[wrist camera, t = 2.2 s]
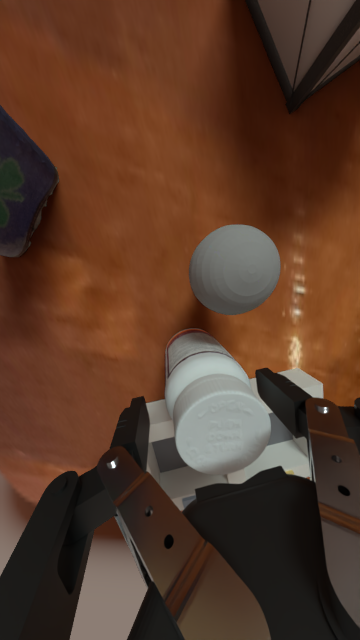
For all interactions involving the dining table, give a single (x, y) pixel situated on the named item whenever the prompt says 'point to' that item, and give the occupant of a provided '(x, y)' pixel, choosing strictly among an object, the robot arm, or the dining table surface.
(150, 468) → the socket block
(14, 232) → the flask
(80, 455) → the dining table surface
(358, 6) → the lantern
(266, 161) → the dining table surface
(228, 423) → the pill bottle
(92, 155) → the dining table surface
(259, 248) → the light bulb
